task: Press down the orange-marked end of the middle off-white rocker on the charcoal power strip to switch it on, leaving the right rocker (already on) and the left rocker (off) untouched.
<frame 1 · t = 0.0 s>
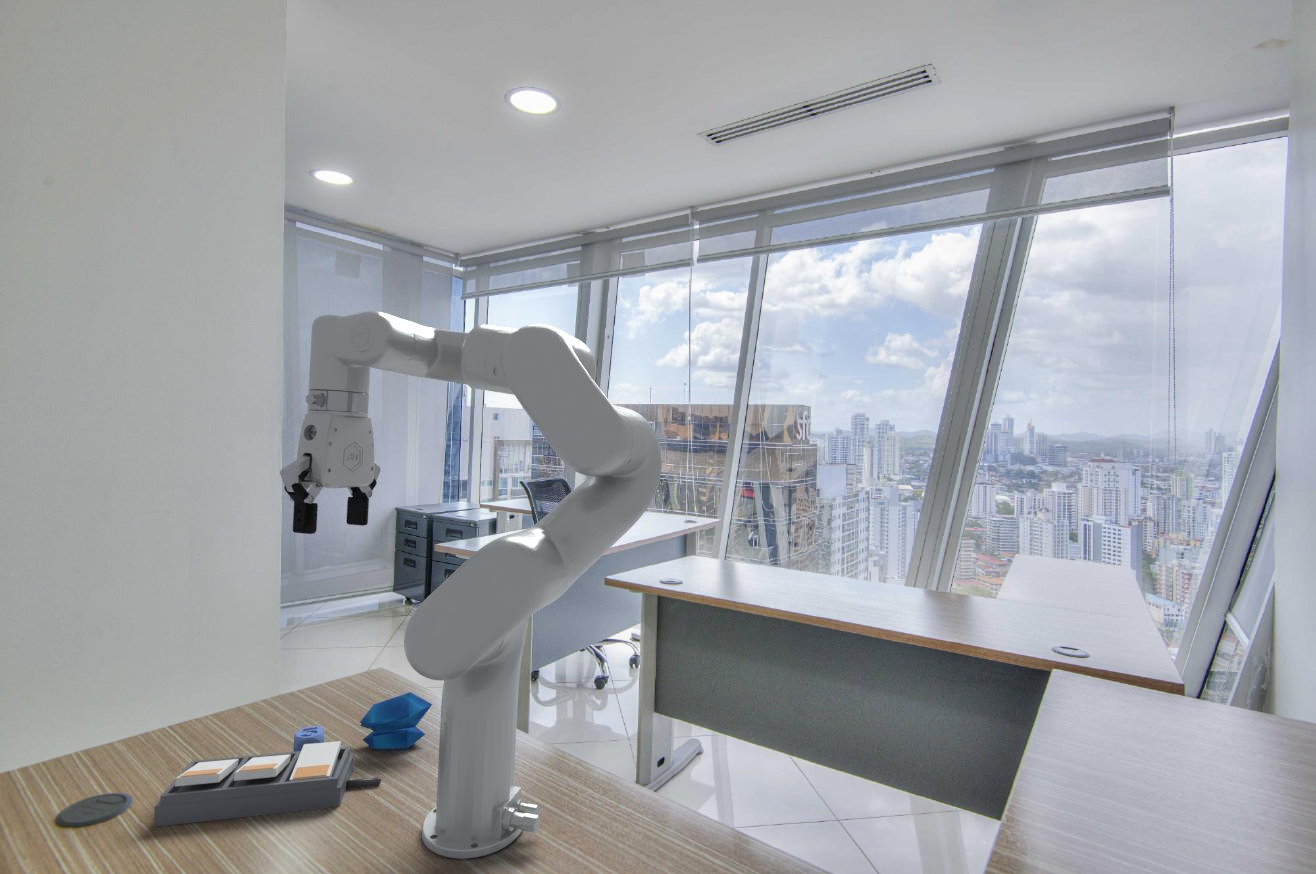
hand: (332, 528, 85), 37 cm above the table, tool pointing down, fingers open, 9 cm apart
strip: (261, 796, 84), on the table
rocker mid: (263, 767, 84), point 4 cm above the table, hinge at 12.0°
rocker 1: (208, 772, 82), point 4 cm above the table, hinge at 12.0°
decorative dice: (308, 759, 95), on the table
crystal: (394, 747, 99), on the table
rocker 2: (316, 763, 86), point 4 cm above the table, hinge at -12.0°
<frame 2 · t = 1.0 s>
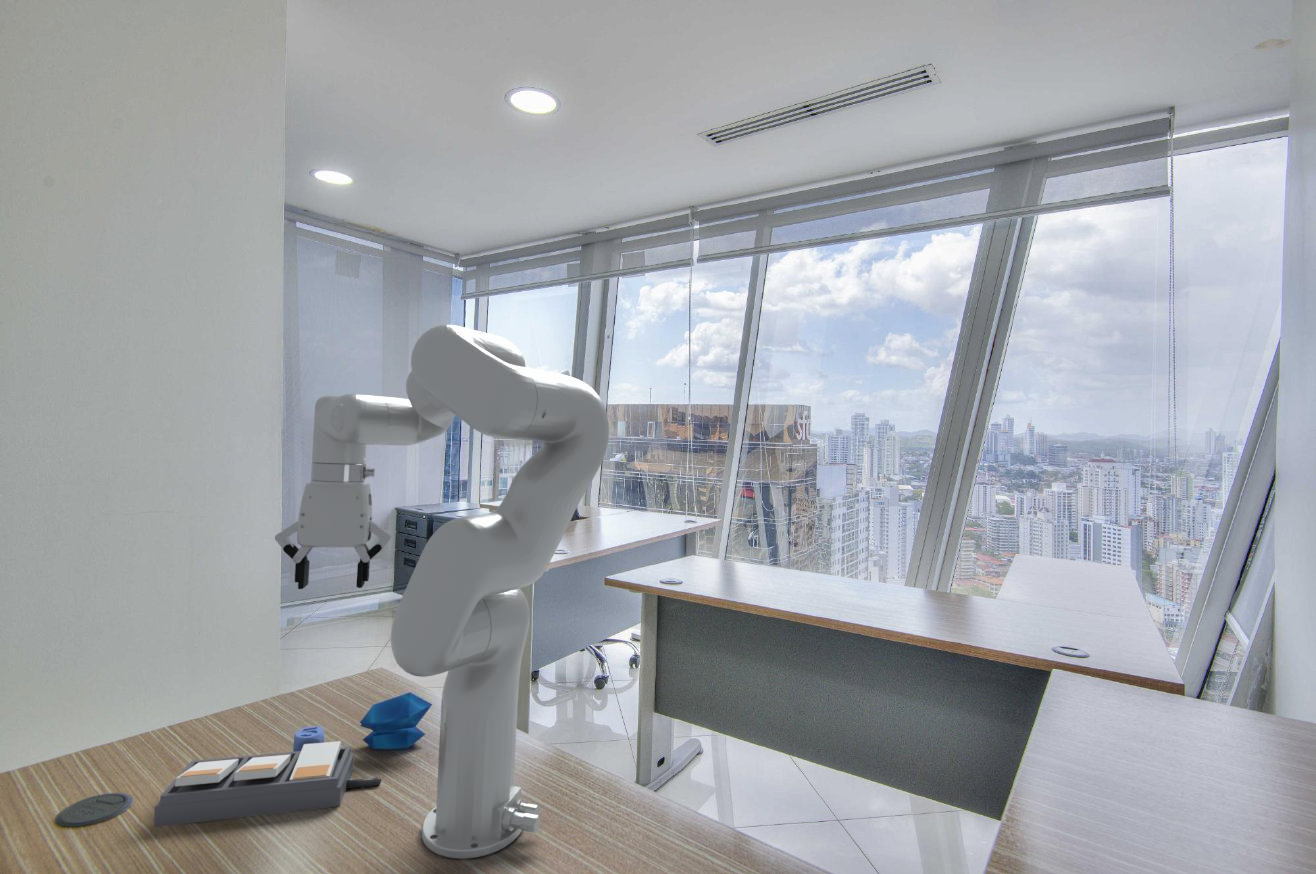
hand: (332, 585, 97), 26 cm above the table, tool pointing down, fingers open, 7 cm apart
nothing on the table moved.
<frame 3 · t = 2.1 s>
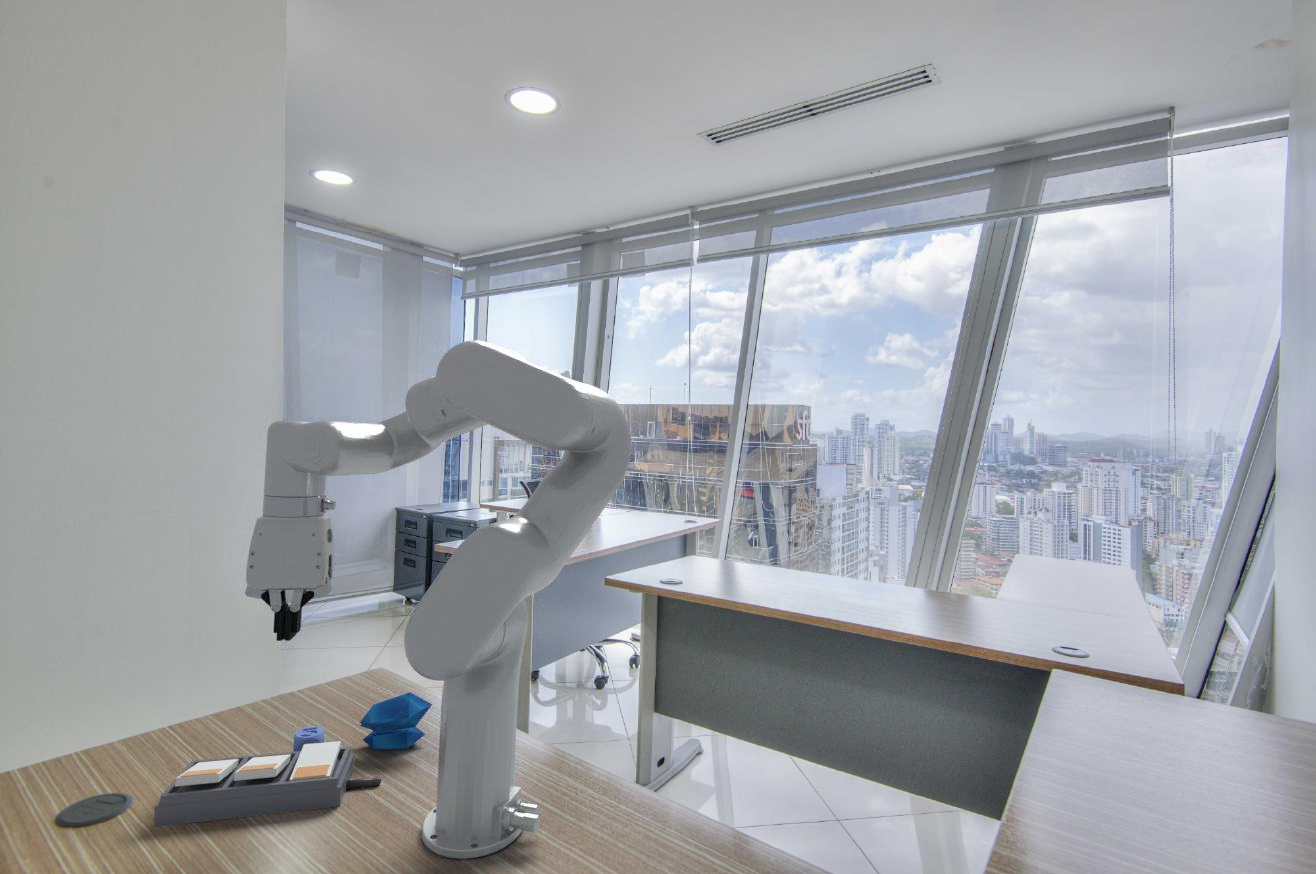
hand: (286, 637, 87), 21 cm above the table, tool pointing down, fingers closed
nothing on the table moved.
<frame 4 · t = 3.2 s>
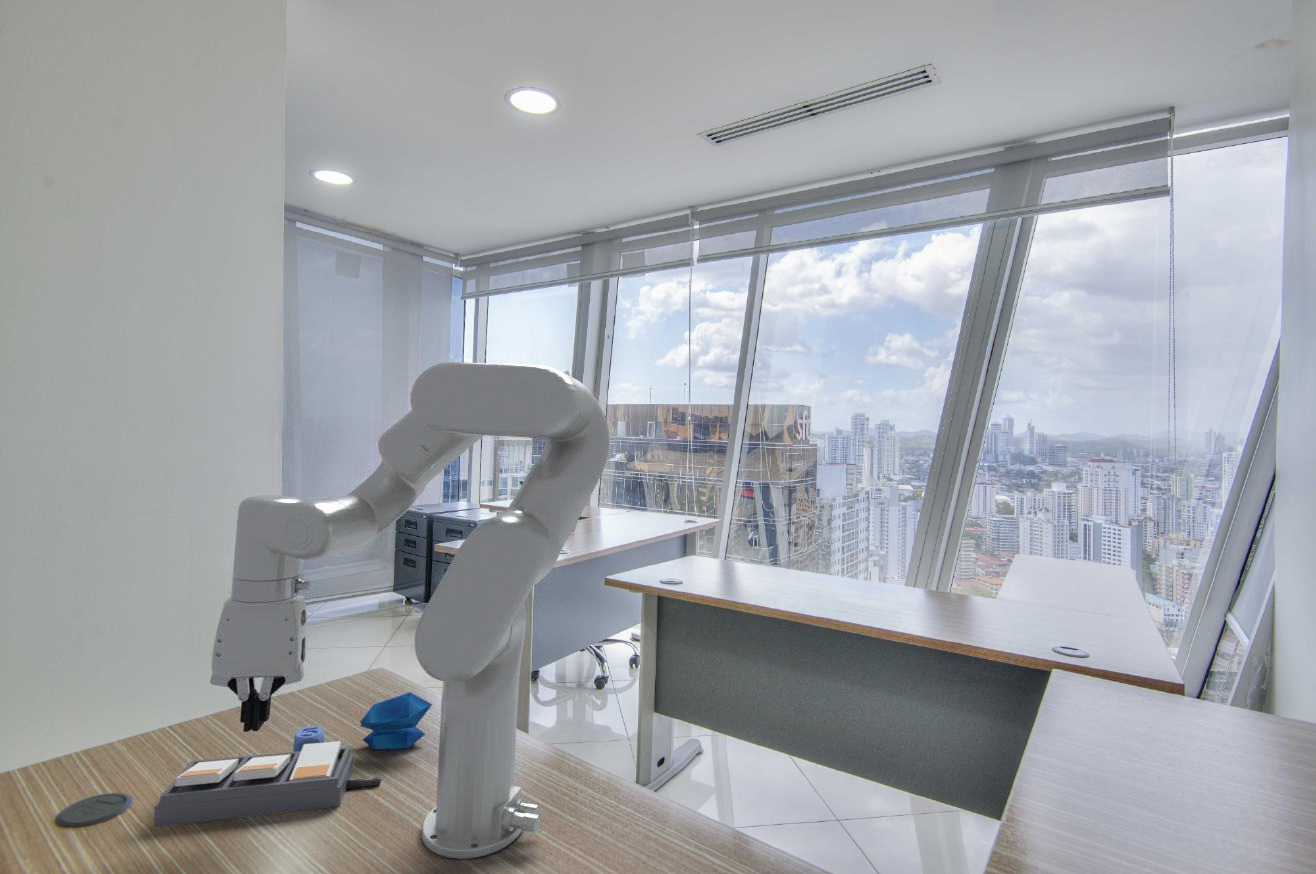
hand: (254, 726, 82), 11 cm above the table, tool pointing down, fingers closed
nothing on the table moved.
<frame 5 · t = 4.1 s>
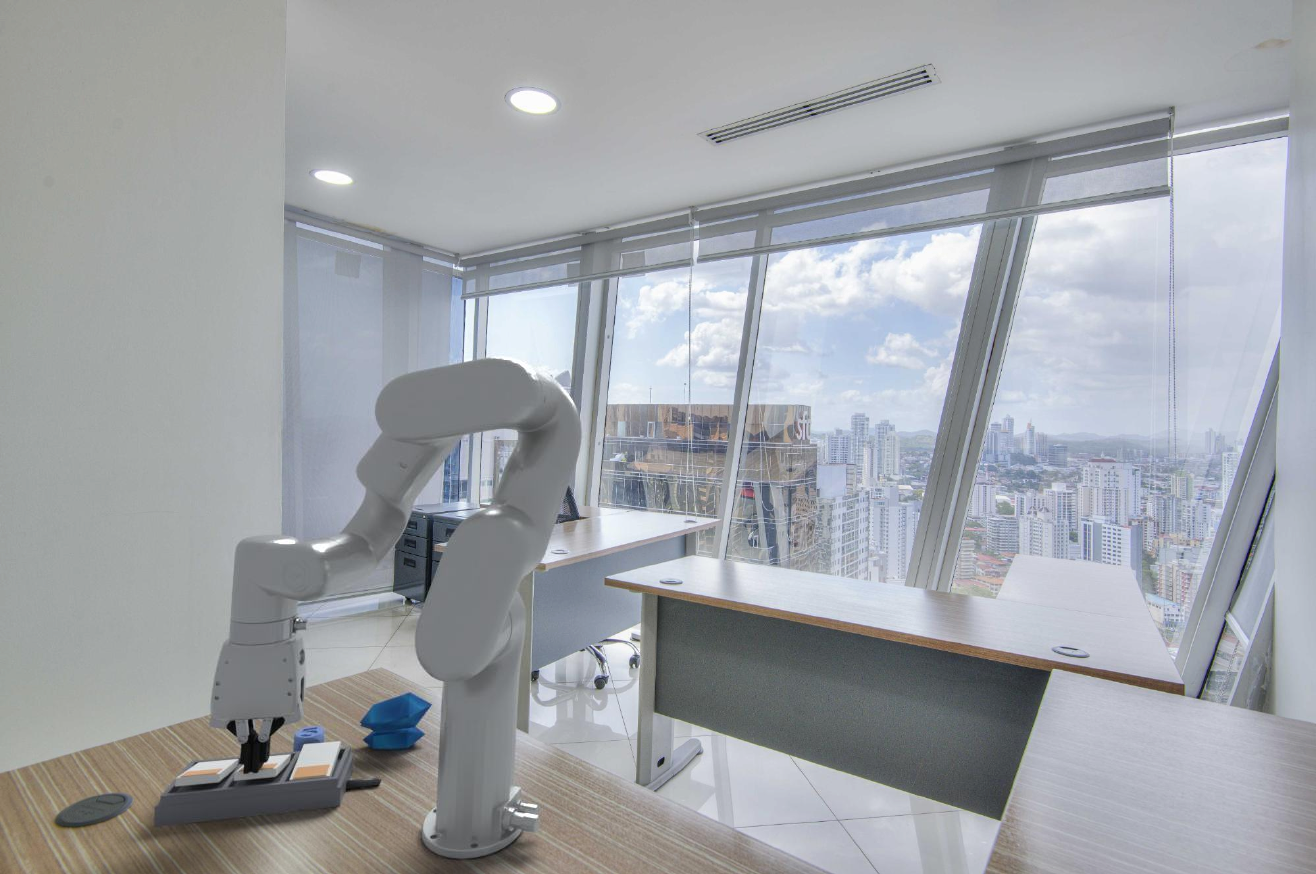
hand: (254, 768, 81), 5 cm above the table, tool pointing down, fingers closed
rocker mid: (263, 767, 84), point 4 cm above the table, hinge at 12.0°, touching gripper
everything else where it was.
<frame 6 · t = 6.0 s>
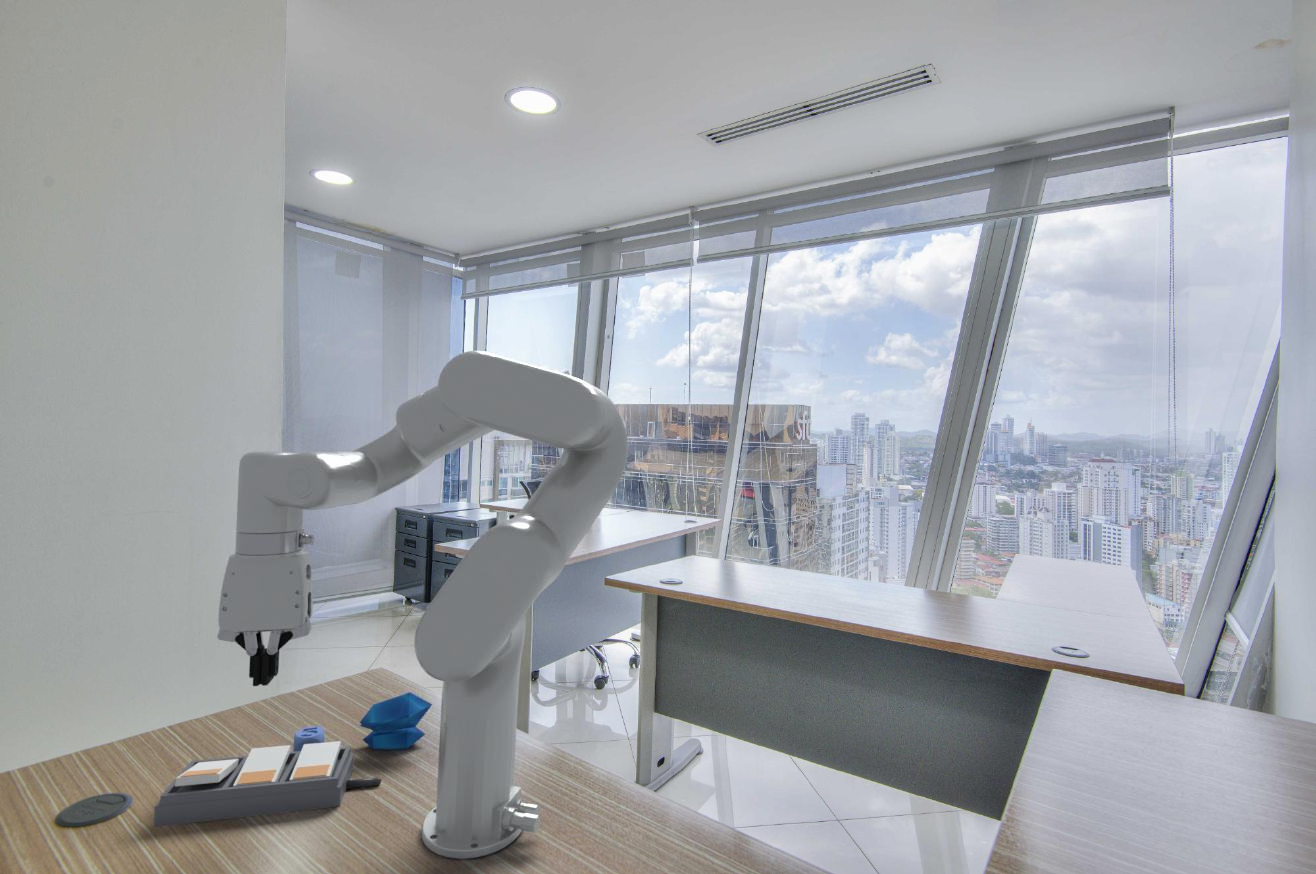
hand: (263, 681, 82), 17 cm above the table, tool pointing down, fingers closed
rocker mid: (263, 767, 84), point 4 cm above the table, hinge at -12.8°
everything else where it was.
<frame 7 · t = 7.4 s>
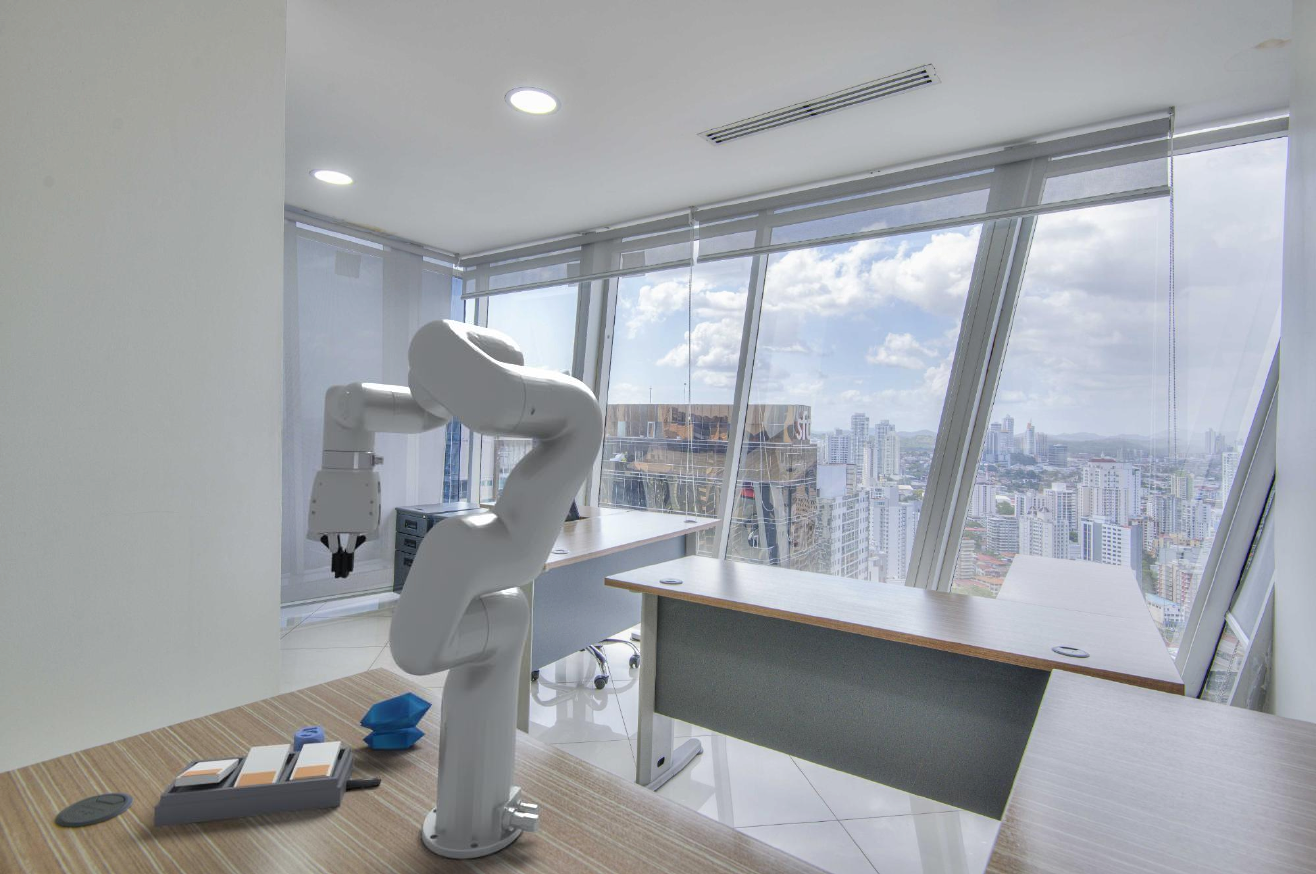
hand: (342, 576, 99), 27 cm above the table, tool pointing down, fingers closed
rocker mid: (263, 768, 84), point 4 cm above the table, hinge at -17.7°, touching strip
everything else where it was.
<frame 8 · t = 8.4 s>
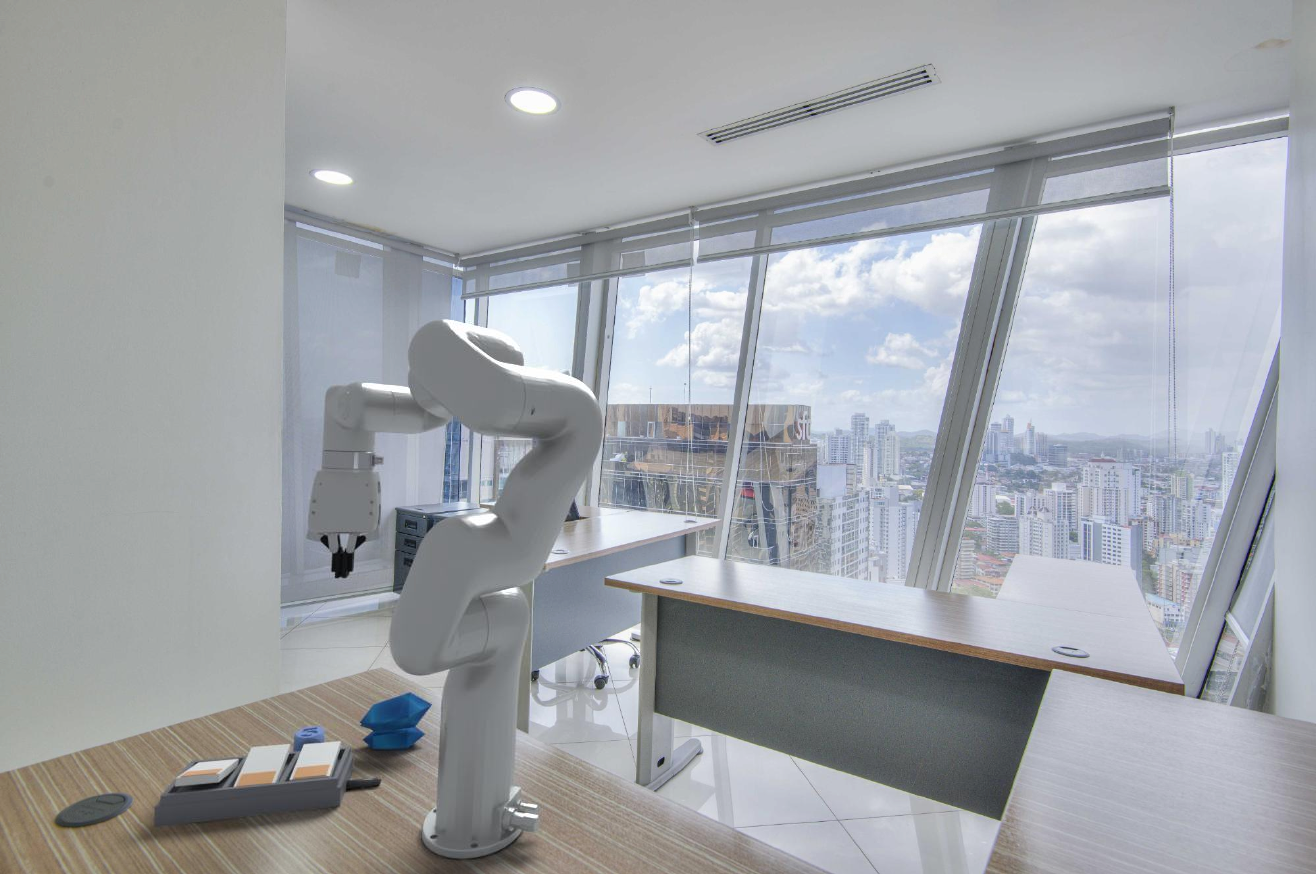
hand: (342, 576, 99), 27 cm above the table, tool pointing down, fingers closed
nothing on the table moved.
at the end: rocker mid at -17° (first picture: +12°); rocker 2 at -12° (first picture: -12°); rocker 1 at +12° (first picture: +12°) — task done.
